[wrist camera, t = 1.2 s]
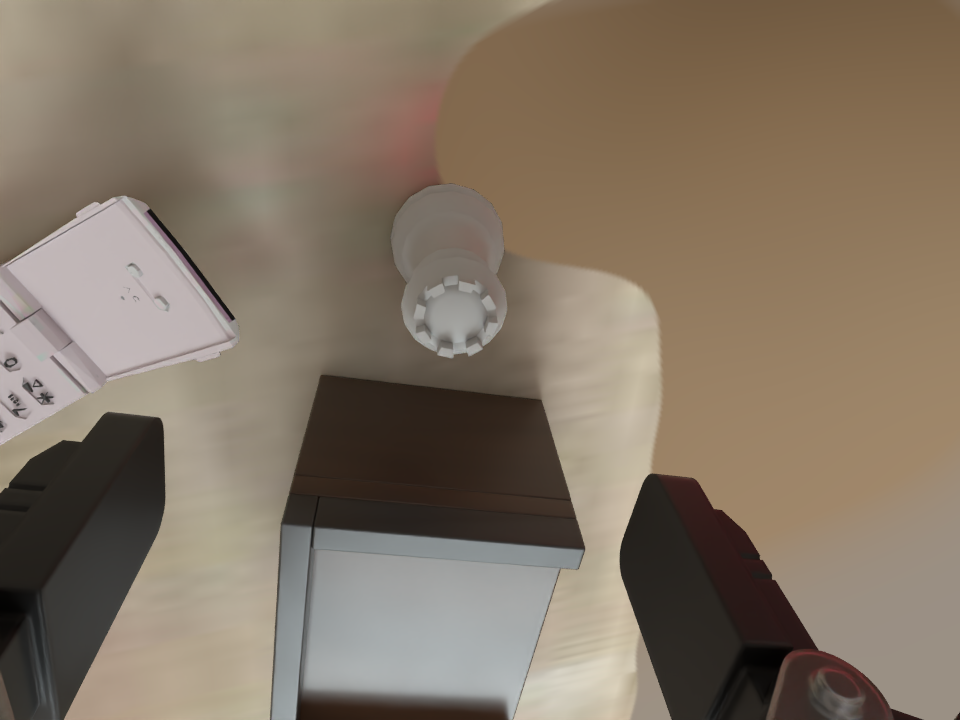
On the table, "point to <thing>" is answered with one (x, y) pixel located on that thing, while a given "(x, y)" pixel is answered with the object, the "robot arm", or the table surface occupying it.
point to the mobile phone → (100, 311)
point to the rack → (417, 554)
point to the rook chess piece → (450, 268)
